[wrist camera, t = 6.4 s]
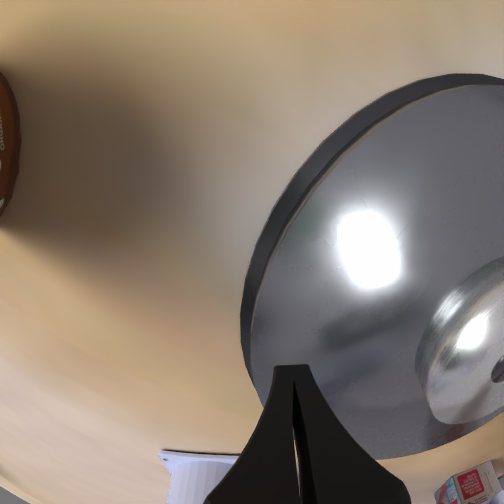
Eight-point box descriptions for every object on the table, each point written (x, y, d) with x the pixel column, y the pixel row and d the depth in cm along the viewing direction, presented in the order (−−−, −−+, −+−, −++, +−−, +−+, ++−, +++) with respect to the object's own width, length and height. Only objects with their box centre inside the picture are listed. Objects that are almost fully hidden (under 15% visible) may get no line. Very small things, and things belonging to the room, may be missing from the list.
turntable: (518, 405, 18) (524, 415, 17) (260, 460, 19) (260, 476, 18) (608, 136, 8) (622, 141, 7) (230, 58, 9) (225, 50, 8)
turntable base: (516, 402, 19) (517, 405, 19) (254, 456, 20) (254, 460, 20) (604, 128, 8) (608, 130, 8) (217, 50, 10) (216, 48, 9)
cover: (511, 371, 14) (528, 397, 12) (398, 406, 15) (410, 442, 12) (559, 247, 10) (588, 269, 8) (436, 263, 11) (468, 299, 9)
